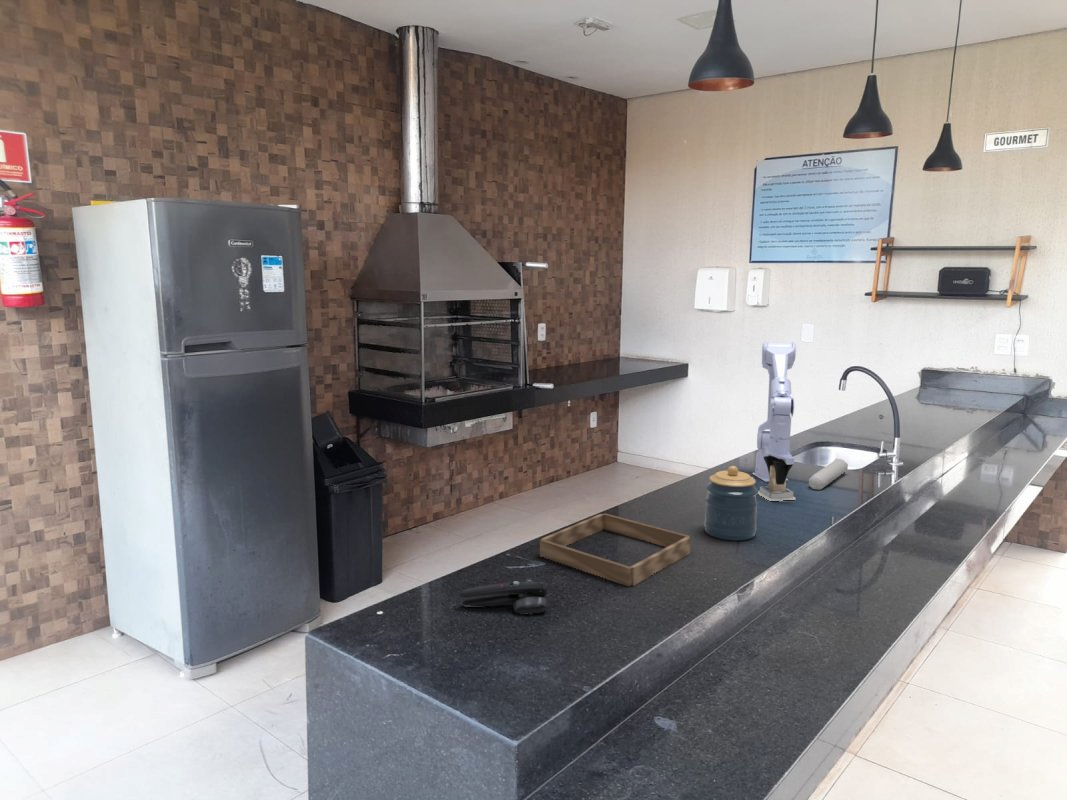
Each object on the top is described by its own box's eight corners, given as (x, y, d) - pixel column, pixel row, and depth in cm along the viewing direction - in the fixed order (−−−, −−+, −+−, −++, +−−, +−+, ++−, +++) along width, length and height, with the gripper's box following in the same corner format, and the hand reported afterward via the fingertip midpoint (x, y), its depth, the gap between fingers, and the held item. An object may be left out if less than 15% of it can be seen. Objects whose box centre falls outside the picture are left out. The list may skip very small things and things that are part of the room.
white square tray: (758, 491, 221) (758, 486, 221) (781, 490, 222) (782, 485, 222) (770, 499, 214) (770, 494, 214) (794, 497, 215) (794, 492, 215)
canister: (700, 537, 185) (703, 470, 182) (707, 521, 197) (710, 457, 194) (754, 544, 181) (758, 475, 178) (757, 527, 193) (761, 462, 190)
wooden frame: (602, 527, 192) (603, 512, 191) (691, 552, 175) (692, 536, 175) (538, 556, 173) (538, 539, 172) (631, 587, 156) (631, 569, 155)
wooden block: (768, 487, 219) (770, 465, 218) (779, 487, 220) (781, 464, 219) (774, 491, 216) (775, 468, 215) (785, 490, 216) (787, 467, 215)
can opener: (549, 601, 150) (549, 575, 149) (548, 617, 143) (548, 590, 142) (462, 599, 151) (462, 573, 150) (457, 614, 144) (457, 587, 143)
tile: (757, 493, 222) (757, 491, 221) (782, 492, 223) (782, 490, 223) (769, 501, 214) (769, 499, 214) (795, 500, 215) (795, 498, 215)
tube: (826, 480, 222) (850, 463, 242) (809, 472, 225) (835, 455, 244) (819, 495, 224) (844, 477, 244) (803, 487, 227) (828, 469, 246)
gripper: (755, 432, 222) (753, 476, 224) (778, 443, 207) (775, 489, 210) (777, 431, 223) (774, 475, 225) (802, 442, 208) (798, 488, 211)
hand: (776, 482), depth 217 cm, fingers closed on wooden block, 3 cm apart
